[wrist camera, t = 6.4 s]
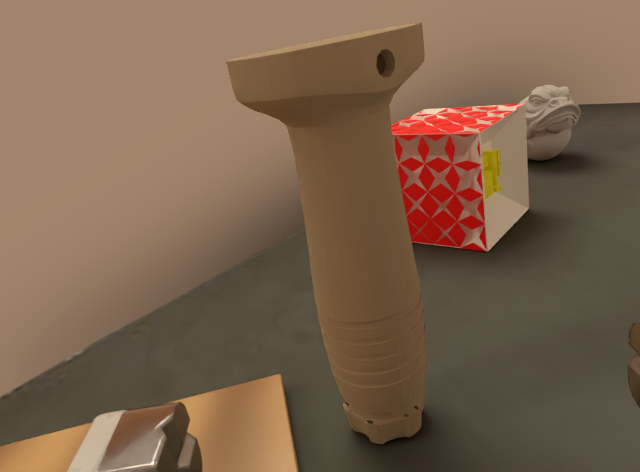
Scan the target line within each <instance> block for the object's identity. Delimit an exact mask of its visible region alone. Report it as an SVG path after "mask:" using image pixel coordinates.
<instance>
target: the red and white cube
mask: <svg viewBox="0 0 640 472" xmlns="http://www.w3.org/2000/svg"><path fill="white" fill-rule="evenodd" d="M391 132H392V140H393V146H394V151H395V157H396V162H397V168H398V173H399V179H400V185H401V190H402V196H403V201H404V207H405V212H406V217H407V222H408V227H409V232H410V237H411V242H414V243H423V244H431V245H439V246H447V247H455V248H462V249H470V250H478V251H486V252H488V251H489V250H490V249H491V248H492V247H493V246H494V245H495V244H496V243H497V242H498V241H499V240H500V239H501V238H502V236H503V235H504V234H505V233H506V232H507V231H508V230H509V229H510V228H511V227H512V226H513V225H514V224H515V223H516V222H517V221H518V220H519V219H520V218H521V216H522V215H523V214H524V213H525V212H526V211H527V210H528V209H529V191H528V162H527V133H526V107H525V104H511V105H495V106H477V107H456V108H440V109H424V110H422V111H420V112H418V113H416V114H414V115H412V116H410V117H408V118H405V119H403V120H401V121H399V122H397V123H395V124H393V125H391Z"/></svg>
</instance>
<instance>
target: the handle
mask: <svg viewBox="0 0 640 472" xmlns="http://www.w3.org/2000/svg"><path fill="white" fill-rule="evenodd" d="M423 62H424V42H423V31H422V23H414V24H408V25H401V26H396V27H390V28H383V29H378V30H372V31H366V32H361V33H355V34H350V35H345V36H340V37H335V38H330V39H325V40H320V41H315V42H310V43H305V44H301V45H295V46H291V47H286V48H281V49H277V50H272V51H268V52H263V53H258V54H254V55H249V56H245V57H241V58H237V59H233V60H229V61H227V66H228V70H229V75H230V79H231V83H232V87H233V91H234V94H235V97H236V99H237V100H238V101H239V102H240V103H242V104H243V105H245V106H247V107H248V108H250V109H252V110H255V111H257V112H261V113H264V114H267V115H269V116H272V117H274V118H277V119H279V120H280V121H281V122H283V123H284V124H285V125H286V126H287V129H288V132H289V136H290V140H291V143H292V147H293V151H294V154H295V161H296V168H297V174H298V180H299V186H300V194H301V200H302V207H303V213H304V220H305V227H306V234H307V242H308V249H309V257H310V264H311V272H312V279H313V287H314V294H315V302H316V307H317V313H318V318H319V322H320V327H321V332H322V336H323V341H324V344H325V348H326V351H327V355H328V358H329V362H330V365H331V368H332V371H333V374H334V377H335V380H336V383H337V385H338V388H339V390H340V392H341V395H342V397H343V398H344V400H345V401H346V403H344V404H343V406H344V410H345V413H346V416H347V419H348V421H349V423H350V425H351V427H352V429H353V430H354V431H356V432H360V433H363V434H365V435H367V436H368V437H369V438H370V441H371V442H372V443H376V444H384V443H385V442H387V441H389V440H392V439H395V438H400V437H408V438H409V437H411V436H413V435H414V434H416V433H417V432H418V431H419V430H420V428H421V421H422V413H421V412H422V411H423V409H424V407H425V375H426V343H425V324H424V314H423V308H422V297H421V292H420V283H419V278H418V273H417V268H416V263H415V258H414V253H413V248H412V243H411V237H410V232H409V227H408V222H407V217H406V212H405V207H404V201H403V196H402V190H401V185H400V179H399V173H398V168H397V162H396V157H395V151H394V146H393V140H392V132H391V121H390V110H389V104H390V102H391V100H392V97H393V95H394V94H395V93H396V91H397V90H398V89H399V88H400V86H401V85H402V84H403V83H404V82H405V81H406V80H407V79H408V78H409V77H410V76H411V75H412V74H413V73H414V72H415V71H416V70H417V69H418V68H419V67H420V66H421V64H422V63H423Z"/></svg>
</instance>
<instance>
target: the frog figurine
mask: <svg viewBox="0 0 640 472" xmlns="http://www.w3.org/2000/svg"><path fill="white" fill-rule="evenodd" d="M518 104H525V107H526V133H527V158H528V159H531V160H537V161H541V160H547V159H550V158H553V157H555V156H556V155H558V154H559V153H560V152H561V151H562V150H563V149H564V148H565V146H566V145H567V143H568V141H569V140H570V139H571V136H572V131H571V128H572V127H574V126H576V124H577V122H578V119H579V117H580V113H581V111H580V109H579V106H578V105H577V104H576V103H574V102H573V100H572V99H571V97H570V91H569V88H568V87H560V88H557V87H555V86H553V85H545V86H543V87H540V86H539V87H537V88H535V89H534V90H533V91H532V92H531V95H529V96H528V97H527V98H525V99H524V100H522V101H521V102H520V103H518Z"/></svg>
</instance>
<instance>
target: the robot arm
mask: <svg viewBox="0 0 640 472" xmlns="http://www.w3.org/2000/svg"><path fill="white" fill-rule="evenodd" d="M629 345H630V346H631V347H632V348H633V349H634V350H635V351H636V352H637V353H636V354H635V356H634V357H633V358H632V360H631V361H630V362H629V364H628V383H629V386H630V390H631V393H632V396H633V398H634V400H635V401H636V403H637V405H638V406H639V408H640V322H639V323H633V325H632V327H631V329H630V331H629ZM189 422H190V417H189V415H188V412H187V409H186V407H185V405H184V404H183V403H181V402H174V403H167V404H161V405H154V406H148V407H141V408H134V409H128V410H122V411H116V412H110V413H104V414H101V415H99V416H98V417H96V418H95V419H94V421H93V423H92V425H91V427H90V429H89V430H88V432H87V434H86V436H85V438H84V440H83V442H82V444H81V445H80V447H79V449H78V451H77V453H76V455H75V457H74V459H73V460H72V462H71V464H70V466H69V468H68V470H67V472H202V469H203V462H202V456H201V450H200V447H199V444H198V441H197V438H195V437H194V436H193V435H191V434H190V433H188V432H187V430H188V426H189Z"/></svg>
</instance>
